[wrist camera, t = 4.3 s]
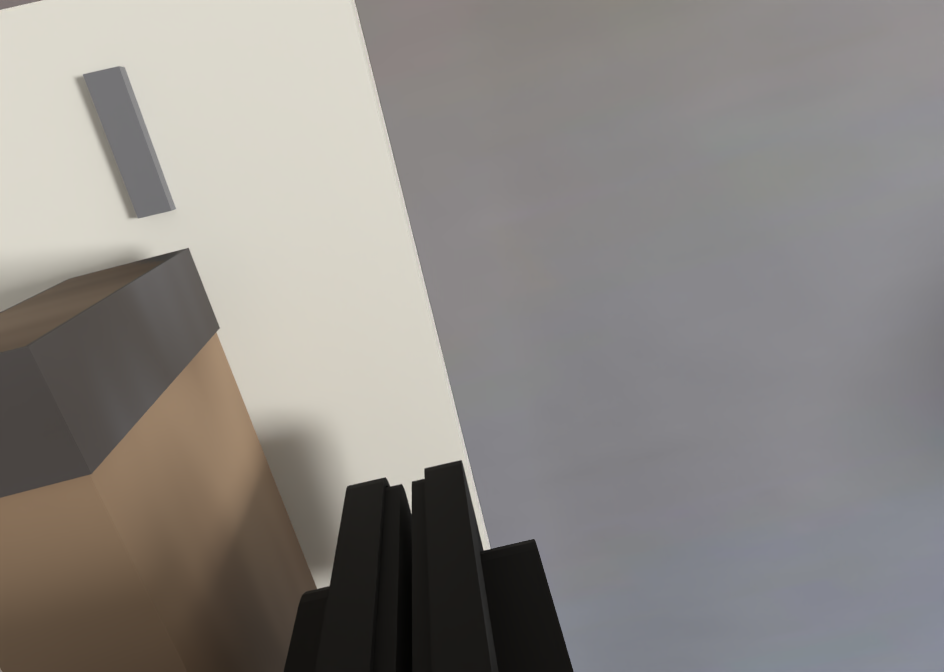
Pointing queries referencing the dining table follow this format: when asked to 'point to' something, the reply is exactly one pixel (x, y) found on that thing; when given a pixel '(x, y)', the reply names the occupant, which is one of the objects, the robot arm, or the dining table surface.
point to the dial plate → (238, 219)
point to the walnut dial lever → (136, 486)
